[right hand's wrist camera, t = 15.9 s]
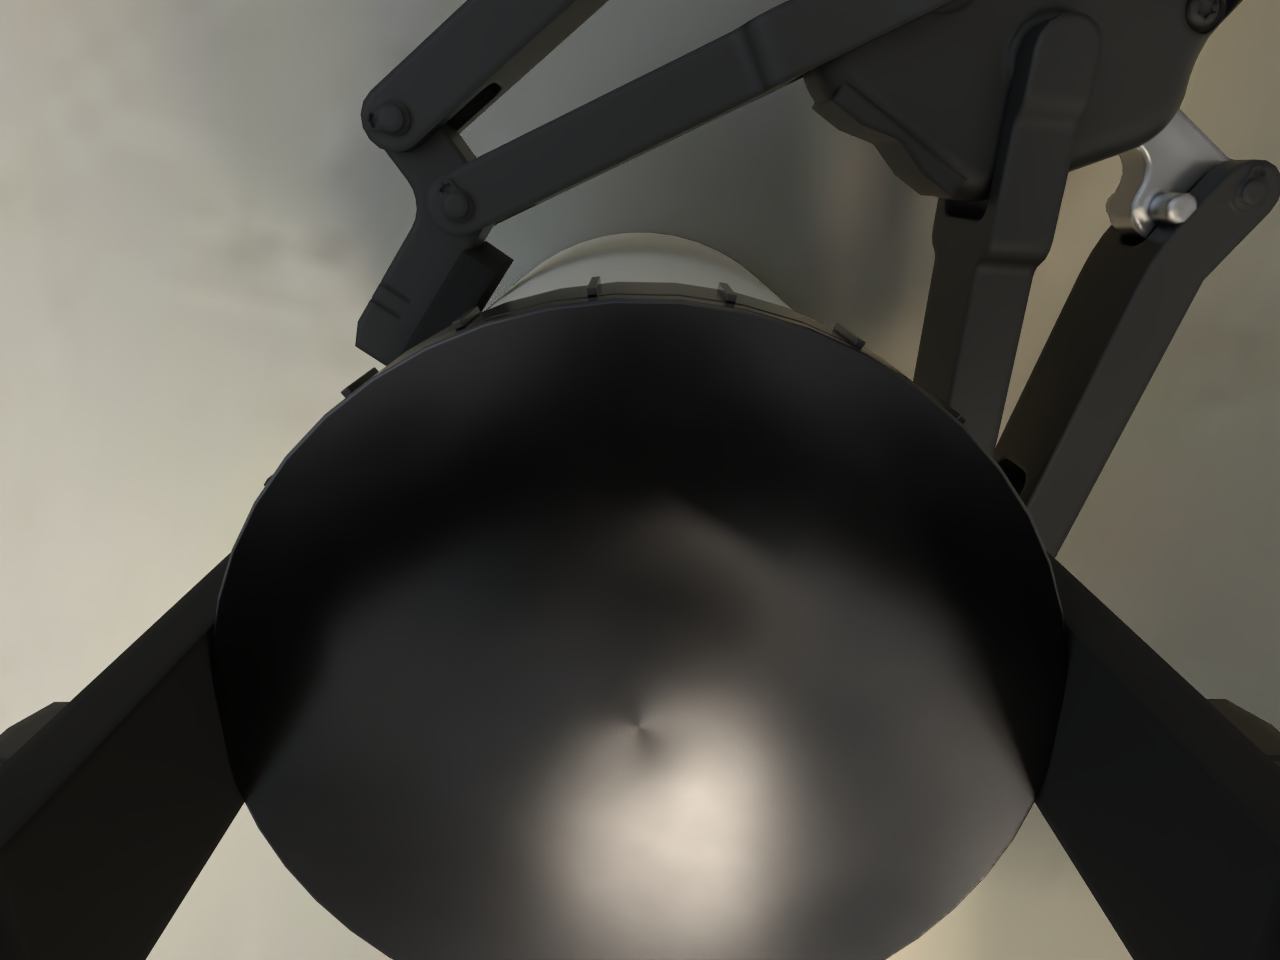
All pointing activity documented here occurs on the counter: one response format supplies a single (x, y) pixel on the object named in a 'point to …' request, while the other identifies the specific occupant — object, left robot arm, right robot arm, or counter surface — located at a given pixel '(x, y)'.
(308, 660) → the lid
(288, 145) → the counter surface
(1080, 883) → the counter surface
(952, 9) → the left robot arm
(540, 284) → the jar
